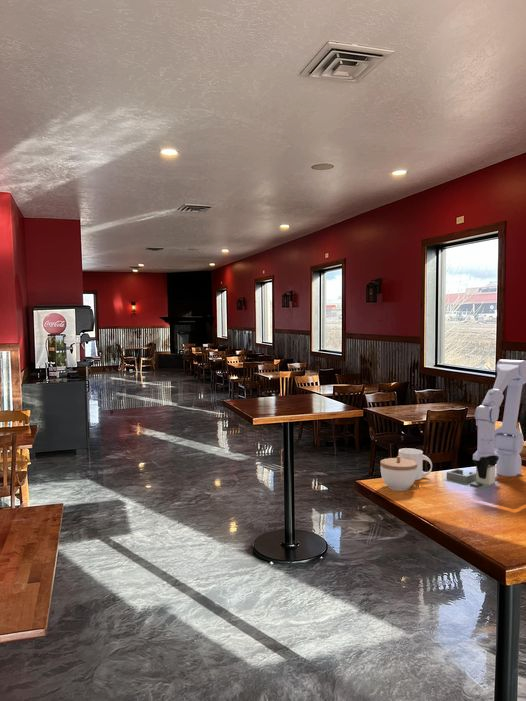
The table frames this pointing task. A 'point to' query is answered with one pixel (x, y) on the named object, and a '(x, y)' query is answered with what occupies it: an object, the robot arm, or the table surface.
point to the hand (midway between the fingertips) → (485, 477)
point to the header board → (465, 479)
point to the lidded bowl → (398, 473)
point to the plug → (487, 476)
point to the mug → (416, 460)
